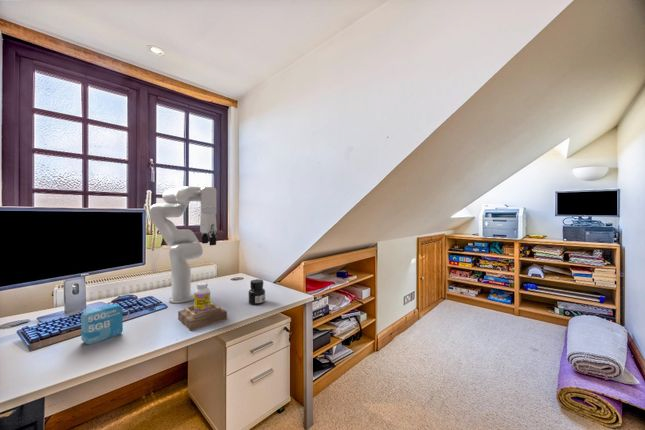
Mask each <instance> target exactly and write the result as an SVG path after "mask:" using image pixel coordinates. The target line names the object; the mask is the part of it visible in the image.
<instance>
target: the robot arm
mask: <svg viewBox="0 0 645 430" xmlns="http://www.w3.org/2000/svg"><path fill="white" fill-rule="evenodd" d="M162 200H163V201H164V202H165V203H163V202H162V203H154V204H152V205H151V206H150V207H149V213H148V214H149V218H150V220H151V222H152V224H153V225H154V226H155V227H156V228H157V230H159V233H160V235H161V237H162V238H163V240H164V242H165V243H166V245H167V246H169V248H170V249H169V251H168V252H169V253H168V254H169V255H168V256H169V260H170V265H171V268H170V269H171V297H169V298H168V303H171V304H180V303H187V302H191V301H192V300H194V294H192V291H191V288H192V286H191V284H192V283H191V282H192V281H191V279H192V278H191V275H192V273H191V266H190V264H189V263H188V261H189V260H193V259H199V258H200V257H202V255H203V254H204V253H203V252H204V250H203V246H202V245H201V244H209V246H210V247H211V246H217V232H218V228H217V189H216V187H214V186H203V187H199V186H180V187H177V188H171V189H168V190H165V191H164V192H163V194H162ZM191 202H199V203H200V223H199V224H200V225H199V232H200V233H201V242H200V241H199V239H198V238H197V236H196V234H195V233H194V231H192V230H191V229H188V228H187V229H186V228H184V229H178V228H177V227H176V224H175V223H174V222H173V221H171V220H170V219H168V218H180V217H182V216H183V214H184V213H185V211H186V209H187V207H188V206H189V204H190V203H191Z"/></svg>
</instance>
